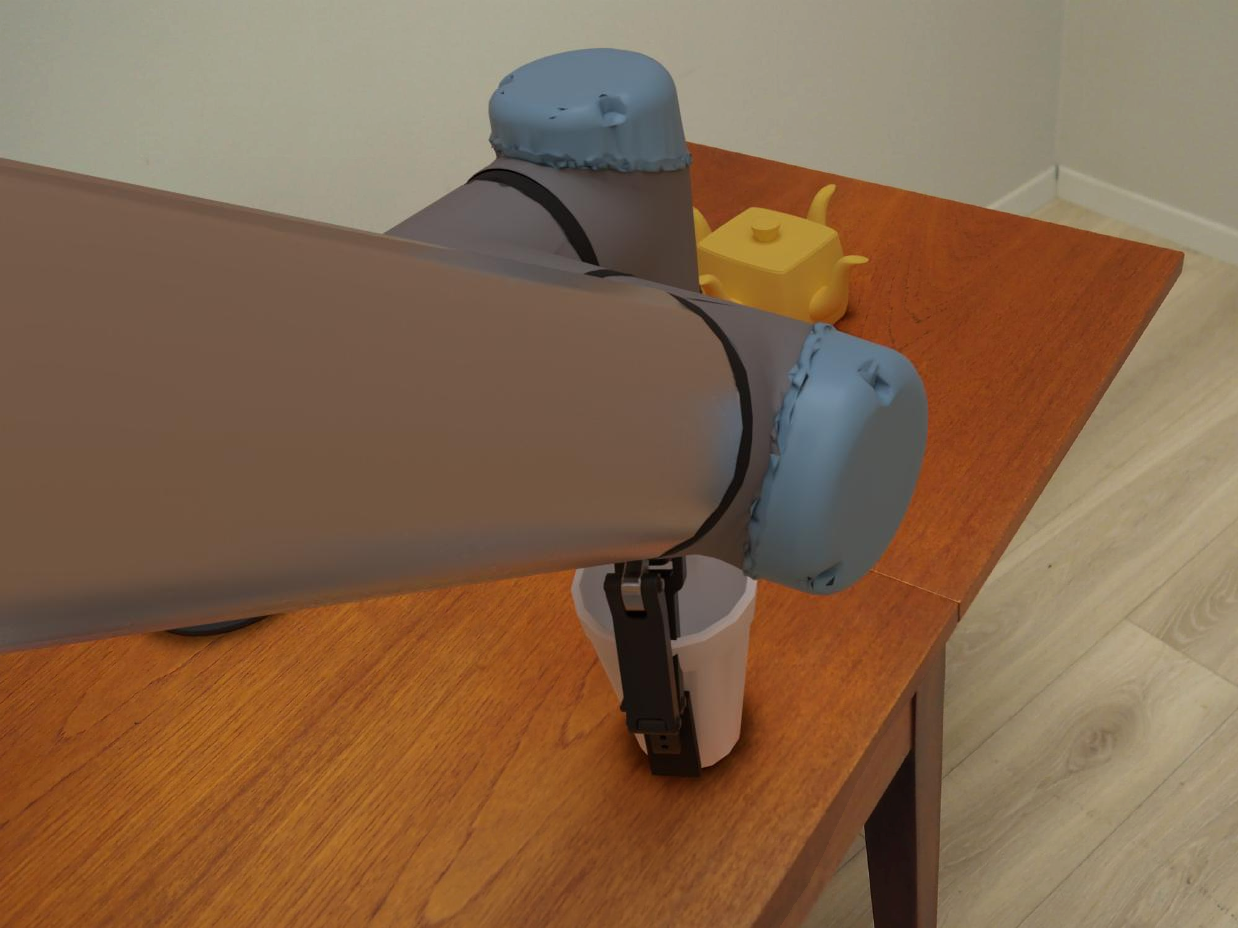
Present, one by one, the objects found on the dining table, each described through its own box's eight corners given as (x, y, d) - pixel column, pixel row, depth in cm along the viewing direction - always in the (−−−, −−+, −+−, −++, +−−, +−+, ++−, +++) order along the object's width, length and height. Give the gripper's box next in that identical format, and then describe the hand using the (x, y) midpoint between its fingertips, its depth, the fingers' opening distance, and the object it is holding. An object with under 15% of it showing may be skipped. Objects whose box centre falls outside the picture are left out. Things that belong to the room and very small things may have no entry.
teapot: (870, 353, 97) (869, 250, 91) (701, 377, 98) (689, 276, 92) (837, 266, 108) (834, 169, 102) (686, 288, 109) (674, 193, 103)
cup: (793, 684, 72) (781, 528, 63) (744, 821, 65) (723, 666, 57) (642, 652, 75) (612, 500, 67) (580, 778, 69) (539, 627, 60)
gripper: (690, 554, 46) (736, 873, 60) (731, 273, 62) (759, 578, 76) (505, 553, 47) (593, 864, 61) (592, 280, 63) (645, 577, 77)
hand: (685, 706), depth 69 cm, fingers closed on cup, 8 cm apart
